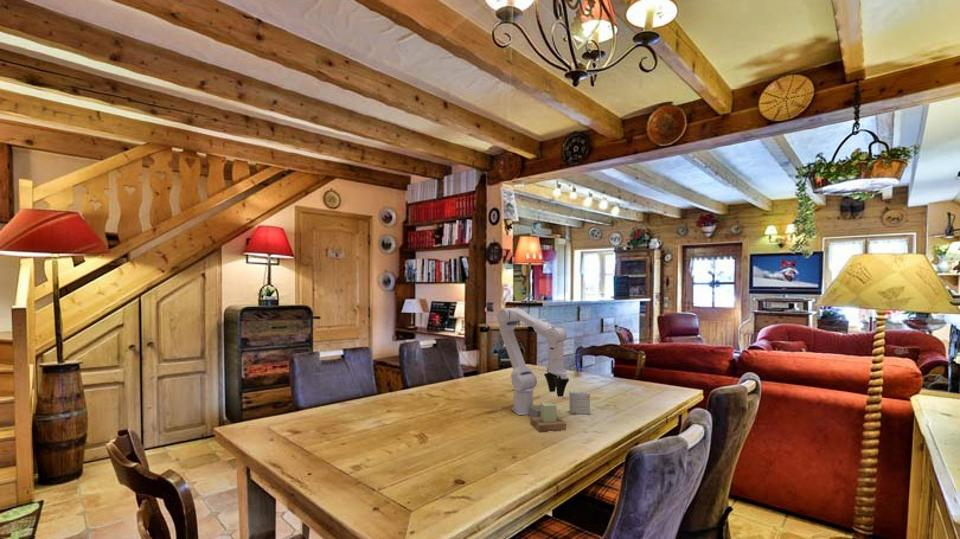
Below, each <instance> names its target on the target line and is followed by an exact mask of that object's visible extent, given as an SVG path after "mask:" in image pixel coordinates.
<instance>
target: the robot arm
mask: <svg viewBox="0 0 960 539" xmlns="http://www.w3.org/2000/svg"><path fill="white" fill-rule="evenodd" d="M496 320H497V322H498V324H499V326H498V328H499V333H500V335H501V339H502V341H503V343H504V347H505V349H506V353H507V355H508V358H509V361H510V364H511V367H512V369H513V370H512V372H511V374H510V377H511V386H512V388H513V389H514V392H513V407H511V410H512V411H513V412H514V413H515V414H516V415H518V416H526V415H528V416H529V406H534V390H535V387H536V386H537V385H538V379H537V376H536V375H535V374H534V373H533V370H532V369H531V368H530V367H529V366H527V365H526V362H525V360H524V356H523V353H522V351H521V349H520V346H519V342H518V340H517V338H516V335H515V333H514V331H515V328H516V327H517V326H518V324H519V323H520V322H522V323H523V324H525V325H528V326H530V327H532V328H533V330H534V332H535V333H537V334H538V335H539V336H541V337H544V338H545V339H546V341H547V347H548V366H546V373H543V375H544V377H545V380H546V383H547V387H548V391H549V393H554V392H555V393H556V396H557V397H562V398H563V397H564V394H565V391H566V387H567V385H568V383H569V381H570V379H569V378H568V377H567V373H566V372H567V369H564V363H565V360H564V359H565V356H564V354H565V353H564V351H565V350H564V346H565V345H564V344H565V343H564V341H566V340H567V336H568V335H567V331H566V330H565V329H564V328H563V327H562V326H559V327H558V326H557V327H556V325H555V324H551V323H549V322H547V319H545V318H539V319H537V318H536V317H533V316H532V315H530V314H529V313H527V312H525V311H524V310H523V309H522V308H519V307H518V306H516V307H501V308H500V309H499V310H498V312H497V314H496Z"/></svg>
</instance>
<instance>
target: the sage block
mask: <svg viewBox="0 0 960 539" xmlns="http://www.w3.org/2000/svg"><path fill="white" fill-rule="evenodd" d="M540 405H541V420H542V421H543V422H544V423H547V422H556V417H557V405H556V404H555V403H554V402H550V401H549V402H540Z"/></svg>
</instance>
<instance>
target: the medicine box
mask: <svg viewBox="0 0 960 539" xmlns="http://www.w3.org/2000/svg"><path fill="white" fill-rule="evenodd" d="M568 393H569V394H568V395H569V413H573V414H572V415H591V407H590V406H591V403H590V402H591V401H590V400H591V394H590V392H589V391H588V390H569V392H568ZM574 413H575V414H574Z"/></svg>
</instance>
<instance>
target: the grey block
mask: <svg viewBox="0 0 960 539" xmlns="http://www.w3.org/2000/svg"><path fill="white" fill-rule="evenodd" d="M528 417H530V418H531V417H541V404H539V405H533V406H529V414H528Z"/></svg>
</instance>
